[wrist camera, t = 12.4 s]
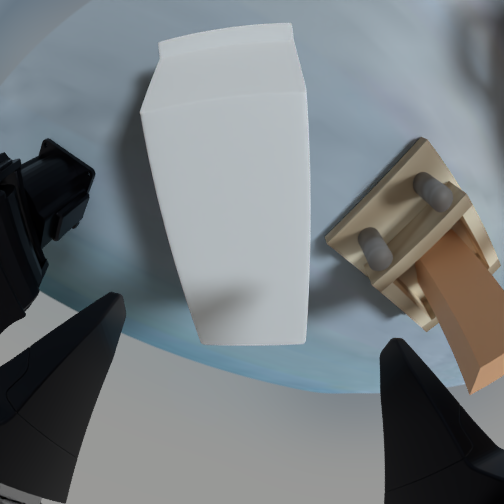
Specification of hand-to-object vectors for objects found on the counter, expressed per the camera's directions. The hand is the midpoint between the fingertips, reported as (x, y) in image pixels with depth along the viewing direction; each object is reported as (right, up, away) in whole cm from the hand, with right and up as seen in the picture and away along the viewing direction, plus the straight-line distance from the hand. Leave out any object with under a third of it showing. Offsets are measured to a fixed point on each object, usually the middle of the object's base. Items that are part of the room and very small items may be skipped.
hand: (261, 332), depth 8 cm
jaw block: (+16, +2, +12) cm, 20 cm away
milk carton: (0, -2, +13) cm, 13 cm away
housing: (+14, +4, +12) cm, 19 cm away
